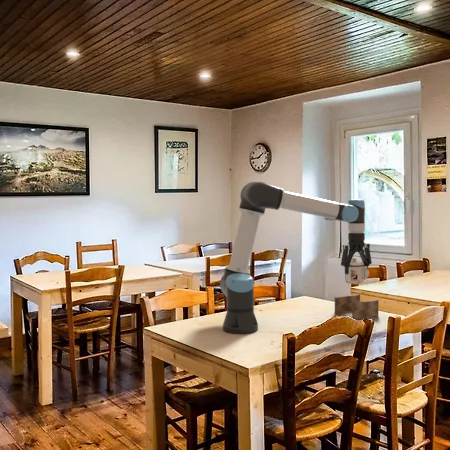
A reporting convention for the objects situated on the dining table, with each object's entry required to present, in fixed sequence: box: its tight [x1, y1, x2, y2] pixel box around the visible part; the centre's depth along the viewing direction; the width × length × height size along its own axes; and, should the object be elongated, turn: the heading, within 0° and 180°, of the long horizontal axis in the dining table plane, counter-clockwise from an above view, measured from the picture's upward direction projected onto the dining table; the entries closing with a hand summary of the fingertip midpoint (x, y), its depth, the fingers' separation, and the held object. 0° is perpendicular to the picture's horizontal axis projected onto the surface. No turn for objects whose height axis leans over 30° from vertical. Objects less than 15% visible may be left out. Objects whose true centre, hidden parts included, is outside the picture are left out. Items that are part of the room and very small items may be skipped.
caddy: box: [334, 294, 379, 320], centre depth 254 cm, size 14×15×8 cm
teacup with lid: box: [344, 257, 370, 285], centre depth 253 cm, size 12×9×12 cm
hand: (356, 280), depth 253 cm, fingers closed on teacup with lid, 8 cm apart
